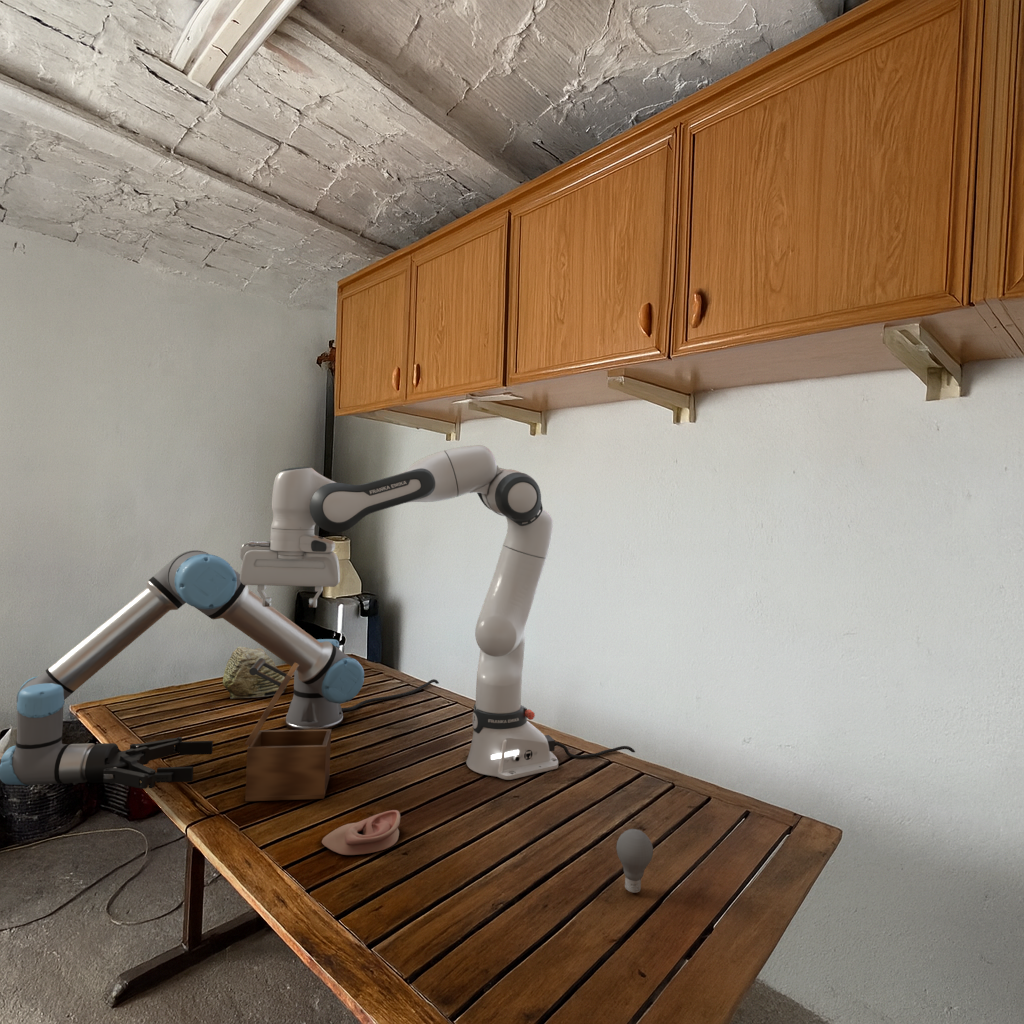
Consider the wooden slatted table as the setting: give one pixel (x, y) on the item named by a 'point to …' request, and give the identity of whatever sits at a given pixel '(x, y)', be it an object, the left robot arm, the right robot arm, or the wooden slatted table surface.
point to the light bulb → (634, 857)
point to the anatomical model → (365, 835)
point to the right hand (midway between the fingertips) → (289, 606)
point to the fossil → (242, 680)
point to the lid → (254, 671)
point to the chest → (288, 765)
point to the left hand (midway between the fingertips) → (203, 760)
